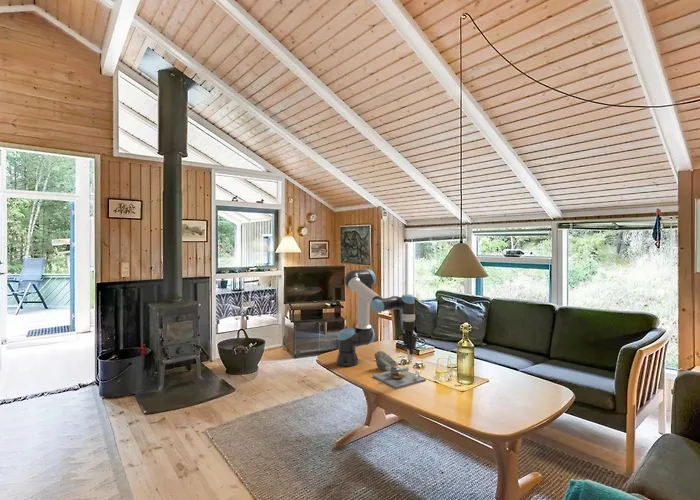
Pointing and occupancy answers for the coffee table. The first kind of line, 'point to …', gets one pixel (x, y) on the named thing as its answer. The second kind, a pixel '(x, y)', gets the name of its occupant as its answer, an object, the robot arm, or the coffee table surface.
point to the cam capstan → (395, 372)
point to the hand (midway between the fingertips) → (410, 359)
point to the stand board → (402, 382)
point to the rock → (384, 360)
